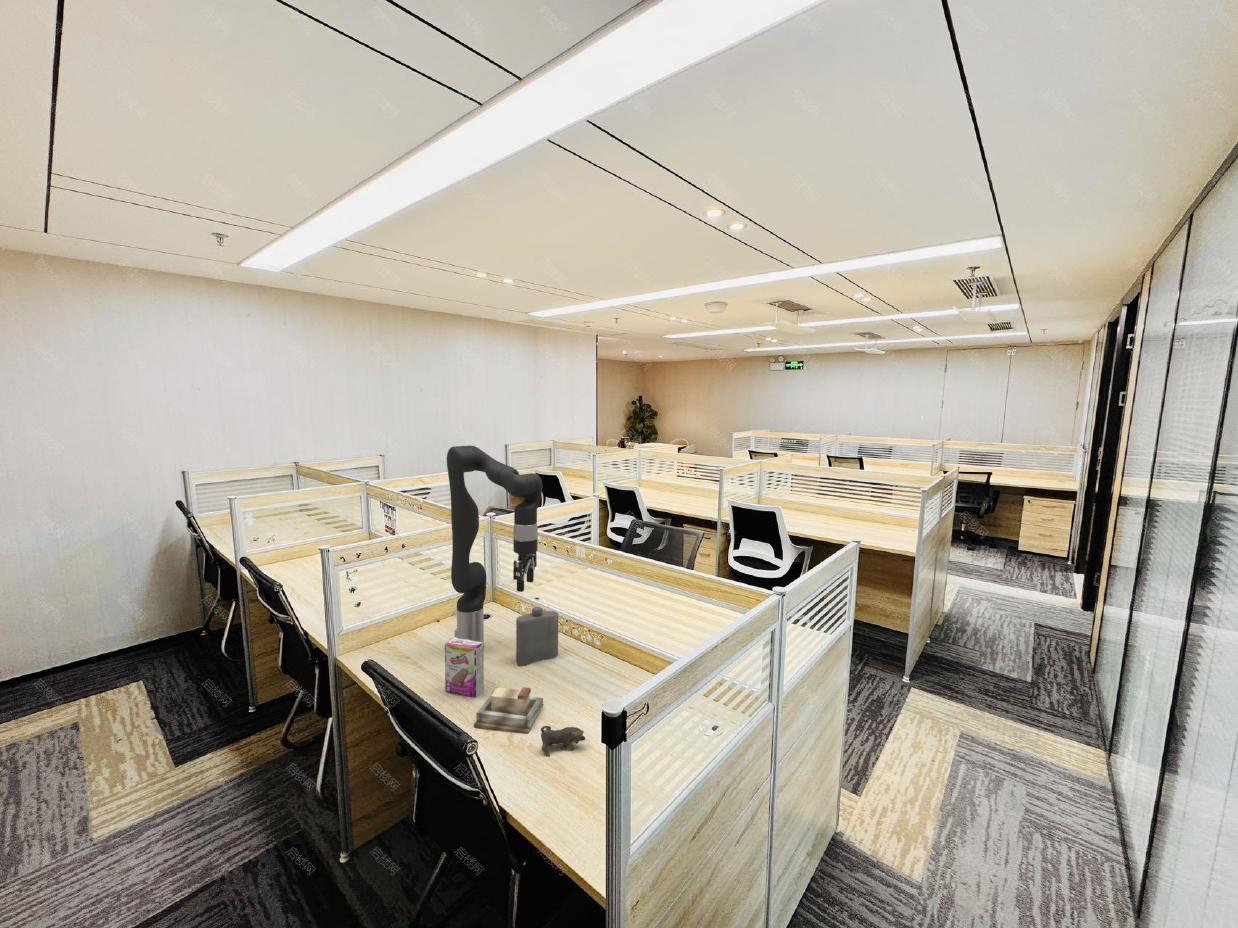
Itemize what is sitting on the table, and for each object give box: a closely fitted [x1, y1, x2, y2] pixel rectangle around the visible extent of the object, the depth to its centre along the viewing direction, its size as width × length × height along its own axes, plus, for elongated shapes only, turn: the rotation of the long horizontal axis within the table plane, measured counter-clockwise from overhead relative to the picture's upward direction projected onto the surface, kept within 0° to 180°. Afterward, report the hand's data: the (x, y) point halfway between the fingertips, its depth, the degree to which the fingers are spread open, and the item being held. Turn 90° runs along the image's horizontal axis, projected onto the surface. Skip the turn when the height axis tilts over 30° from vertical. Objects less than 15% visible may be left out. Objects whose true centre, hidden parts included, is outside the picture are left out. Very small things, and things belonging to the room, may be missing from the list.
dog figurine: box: [540, 725, 586, 758], centre depth 134 cm, size 12×6×7 cm, turn 100°
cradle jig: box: [473, 691, 544, 735], centre depth 148 cm, size 16×14×4 cm
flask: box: [515, 606, 559, 667], centre depth 178 cm, size 15×6×20 cm, turn 117°
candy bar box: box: [444, 636, 485, 698], centre depth 159 cm, size 11×5×16 cm, turn 74°
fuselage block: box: [491, 686, 532, 716], centre depth 148 cm, size 10×4×7 cm, turn 81°
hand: (525, 586), depth 161 cm, fingers open, 8 cm apart
